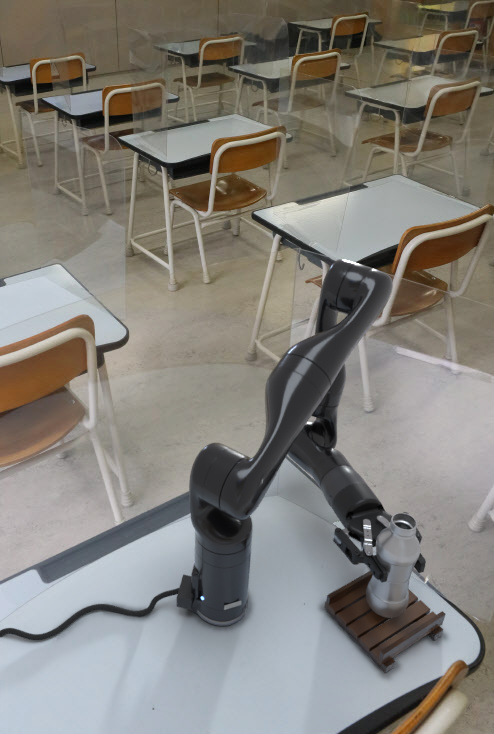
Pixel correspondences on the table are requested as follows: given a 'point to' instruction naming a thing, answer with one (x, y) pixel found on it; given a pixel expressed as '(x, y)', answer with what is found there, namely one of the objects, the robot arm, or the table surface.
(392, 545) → the silver metal bottle
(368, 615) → the wooden slatted rack
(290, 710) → the table surface
